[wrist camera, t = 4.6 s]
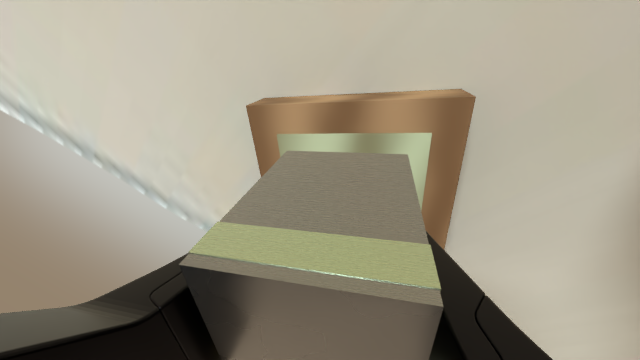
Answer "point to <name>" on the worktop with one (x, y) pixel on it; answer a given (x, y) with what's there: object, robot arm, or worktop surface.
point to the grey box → (320, 264)
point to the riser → (376, 136)
